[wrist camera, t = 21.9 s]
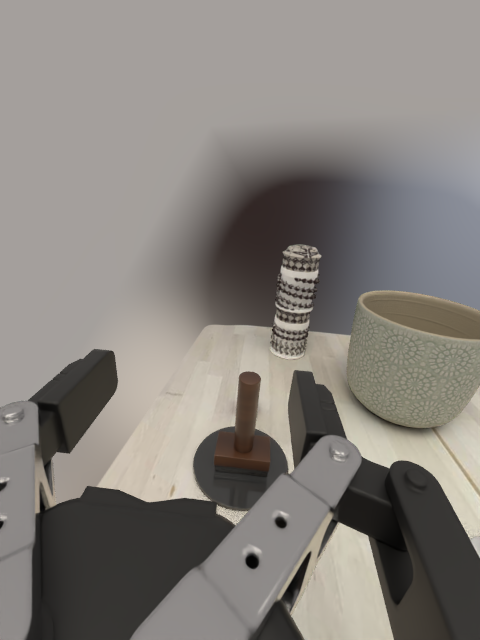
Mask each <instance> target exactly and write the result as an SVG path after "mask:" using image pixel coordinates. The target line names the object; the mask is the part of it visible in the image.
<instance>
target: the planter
mask: <svg viewBox="0 0 480 640" xmlns="http://www.w3.org/2000/svg"><path fill="white" fill-rule="evenodd" d="M347 379H348V383H349V386H350V388H351V390H352V392H353V393H354V395H355V396H356V397H357V399H358V400H359V401H360V402H361V403H362V404H363V405H364V406H365V407H366V408H367V409H369V410H370V411H371V412H373V413H374V414H376V415H377V416H379V417H381V418H383V419H385V420H387V421H389V422H392V423H395V424H398V425H402V426H406V427H414V428H430V427H436V426H441V425H443V424H446V423H448V422H450V421H452V420H453V419H454V418H456V417H457V416H458V415H459V414H460V413H461V411H462V410H463V409H464V408H465V406H466V405H467V404H468V402H469V401H470V400H471V398H472V397H473V395H474V394H475V392H476V391H477V389H478V388H479V386H480V311H479V310H476V309H474V308H471V307H468V306H465V305H462V304H459V303H456V302H453V301H449V300H446V299H441V298H437V297H433V296H428V295H423V294H417V293H410V292H402V291H372V292H367V293H365V294H362V295H361V296H360V297H359V299H358V303H357V306H356V311H355V315H354V320H353V326H352V332H351V338H350V344H349V351H348V359H347Z"/></svg>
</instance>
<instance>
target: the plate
mask: <svg viewBox="0 0 480 640" xmlns="http://www.w3.org/2000/svg"><path fill="white" fill-rule="evenodd" d="M219 431H224V432H232V433H235V426H234V427H227V428H223V429H220V430H218V431H215V432H214V433H212V434H210V435H209V436H208V437H207V438H205V439H204V440H203V442H202V443H201V444H200V446H199V447H198V449H197V451H196V454H195V457H194V464H193V467H194V475H195V479H196V482H197V484H198V486H199V488H200V489H201V490H202V492H203V493H204V494H205V495H206V496H207V497H208V498H209V499H210V500H212V501H213V502H217V504H218V505H220V506H222V507H225V508H228V509H232V510H238V511H249V510H250V509H251V508H252V507H253V506H254V504H255V503H256V502H257V501H258V500H259V499H260V498H261V496H262V495H263V494H264V493H265V492H266V491H267V490H268V488H269V487H270V486H271V485H272V484H273V483H274V482H275V480H276V479H277V478H278V477H279V476H280V475H281V474H282V473H284V472H286V473H287V474H288V464H287V460H286V457H285V454H284V452H283V450H282V449H281V447H280V446H279V445H278V444H277V442H276V441H275V440H273V439H272V438H271V437H270V436H268V435H267V434H265V433H263V432H261V431H259V430H257V429H255V434H254V435H258V436H267V437H270V467H269V472H268V474H267V477H261V476H253V475H245V474H236V473H228V472H220V471H215V465H214V454H215V449H216V444H217V439H218V434H219Z"/></svg>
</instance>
